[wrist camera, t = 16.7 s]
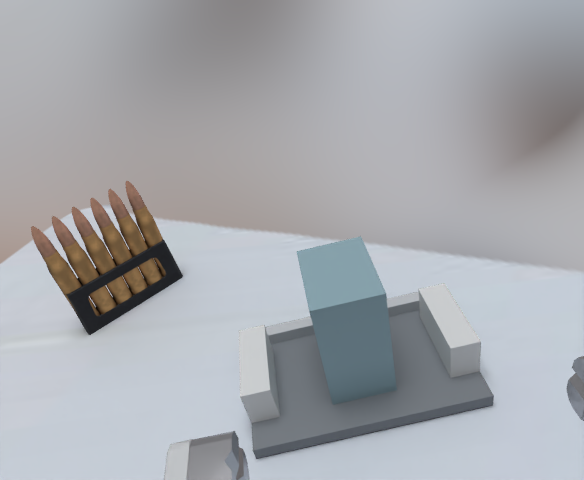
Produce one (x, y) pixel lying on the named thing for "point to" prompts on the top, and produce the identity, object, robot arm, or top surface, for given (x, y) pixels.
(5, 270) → the top surface
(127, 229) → the ammunition clip
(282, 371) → the mounting board
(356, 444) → the top surface
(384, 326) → the block
